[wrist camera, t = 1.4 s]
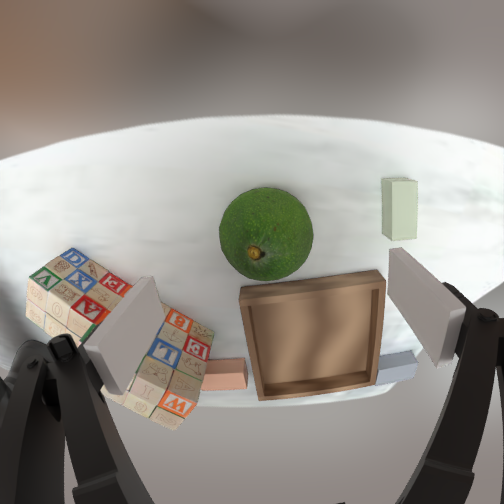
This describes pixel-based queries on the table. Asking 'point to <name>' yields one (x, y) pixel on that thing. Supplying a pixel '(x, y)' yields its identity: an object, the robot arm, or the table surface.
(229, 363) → the terracotta brick
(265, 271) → the fruit
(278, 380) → the tray
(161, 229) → the table surface
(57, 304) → the stack of blocks
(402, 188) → the sage brick
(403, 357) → the slate brick
